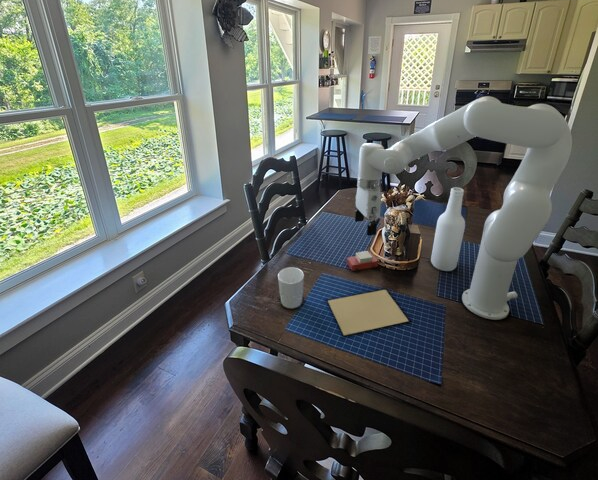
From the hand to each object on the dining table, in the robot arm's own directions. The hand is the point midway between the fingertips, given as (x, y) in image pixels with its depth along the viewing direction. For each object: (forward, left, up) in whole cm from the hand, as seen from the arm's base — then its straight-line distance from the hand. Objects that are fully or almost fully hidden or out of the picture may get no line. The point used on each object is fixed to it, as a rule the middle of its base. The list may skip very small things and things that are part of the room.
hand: (364, 227), depth 111 cm
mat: (+8, +21, -16) cm, 27 cm away
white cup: (+29, +11, -17) cm, 35 cm away
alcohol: (-29, +7, -17) cm, 34 cm away
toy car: (0, 0, -16) cm, 16 cm away
